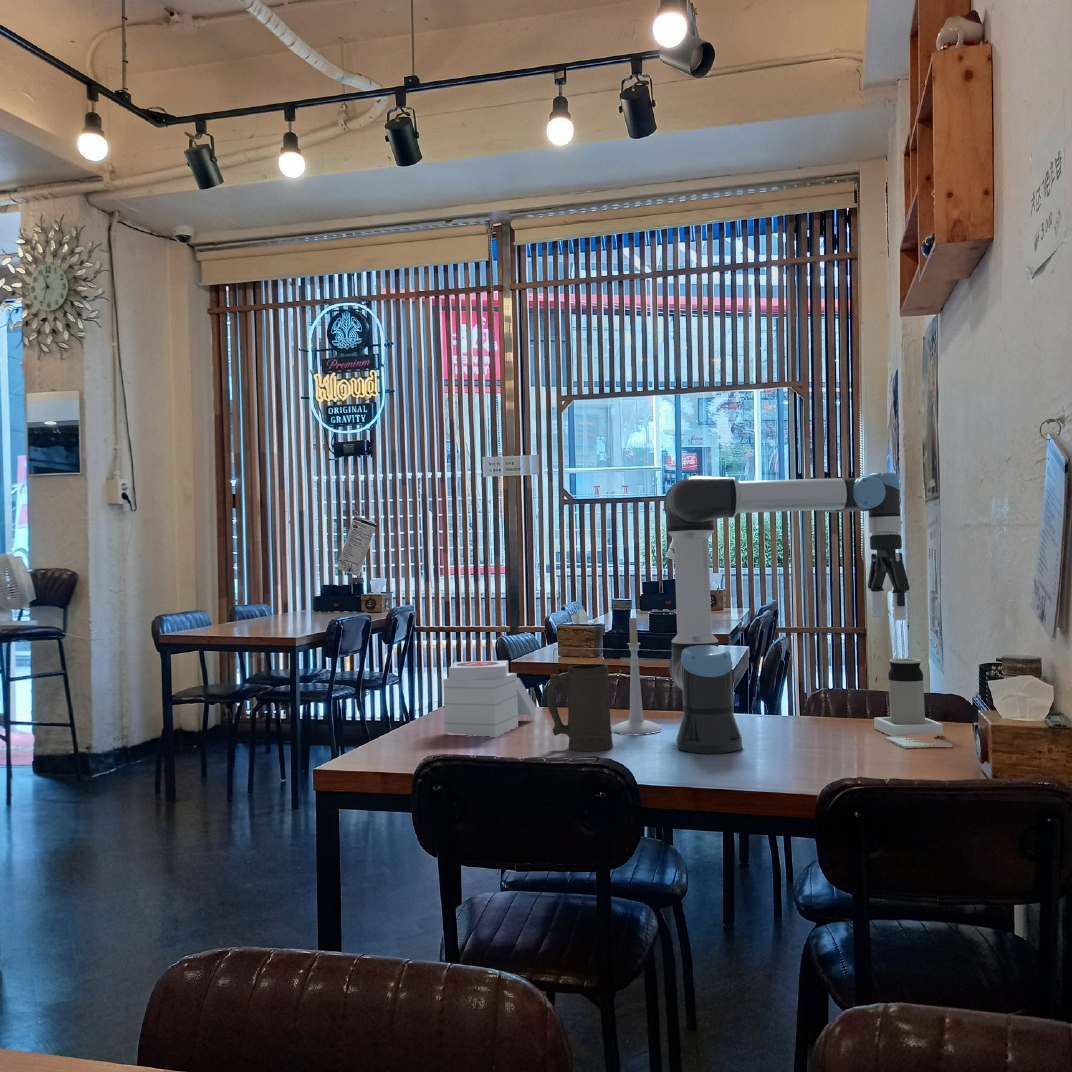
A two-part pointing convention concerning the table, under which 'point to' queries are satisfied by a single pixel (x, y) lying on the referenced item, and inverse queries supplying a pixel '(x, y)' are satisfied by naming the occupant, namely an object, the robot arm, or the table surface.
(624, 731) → the candlestick
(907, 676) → the travel mug
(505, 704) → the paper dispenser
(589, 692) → the beer stein
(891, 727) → the square grey tray
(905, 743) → the mat
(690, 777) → the table surface
